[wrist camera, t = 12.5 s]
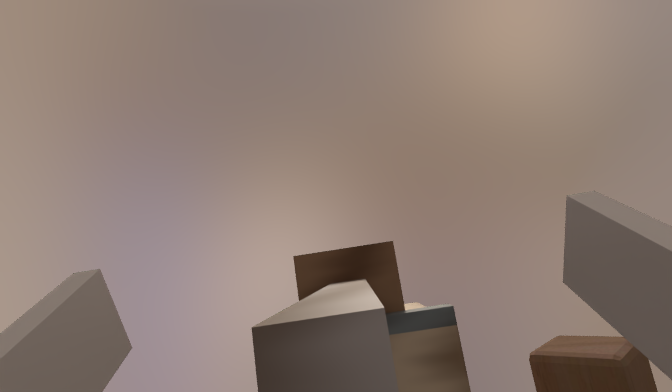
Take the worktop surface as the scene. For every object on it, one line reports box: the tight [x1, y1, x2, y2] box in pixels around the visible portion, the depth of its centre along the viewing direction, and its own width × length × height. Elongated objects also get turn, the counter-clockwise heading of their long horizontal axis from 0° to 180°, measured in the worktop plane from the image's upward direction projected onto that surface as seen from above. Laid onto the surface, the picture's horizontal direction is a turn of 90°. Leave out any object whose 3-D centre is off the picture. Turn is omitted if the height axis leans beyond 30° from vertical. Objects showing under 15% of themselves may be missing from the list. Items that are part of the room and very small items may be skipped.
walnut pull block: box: [252, 241, 405, 392], centre depth 17 cm, size 6×24×5 cm, turn 176°
